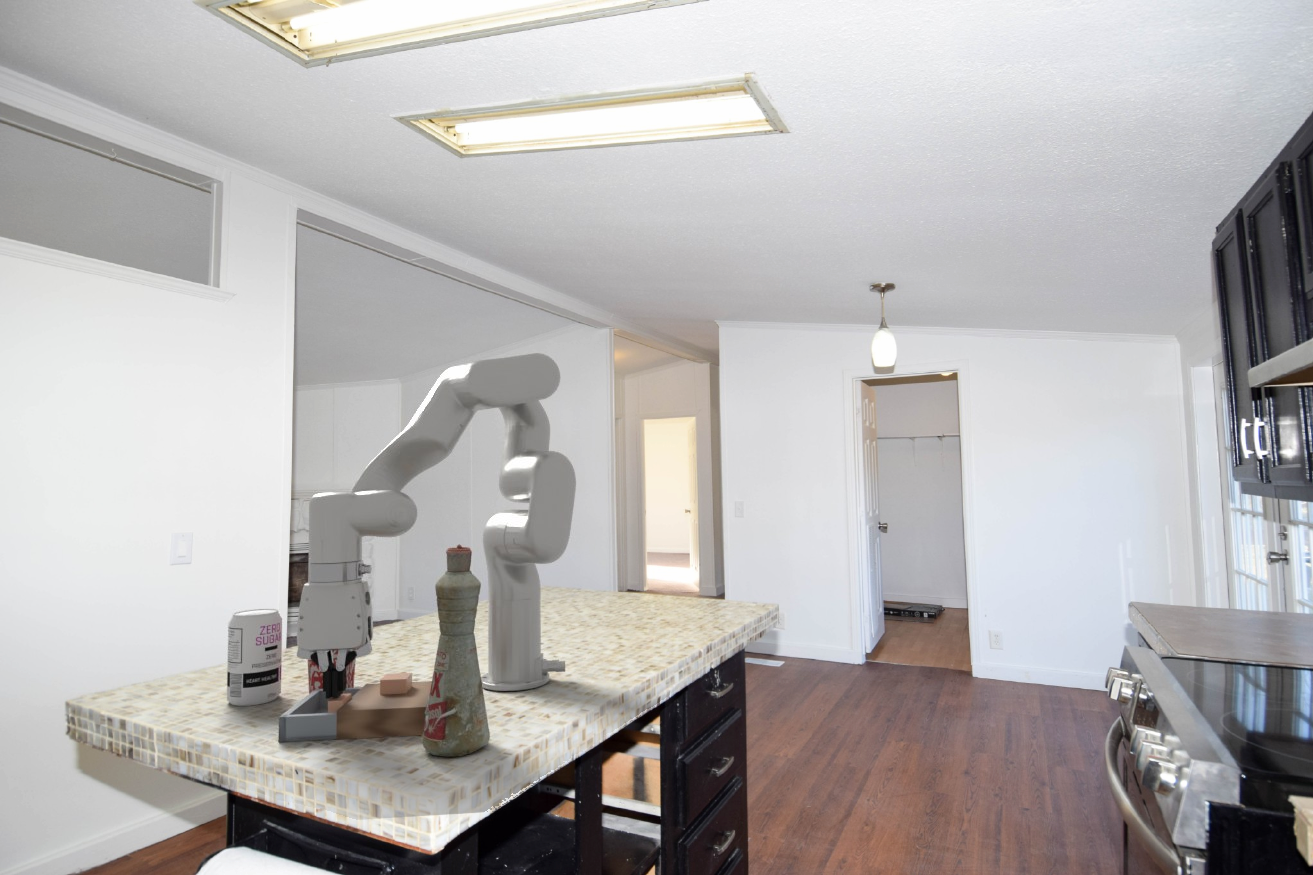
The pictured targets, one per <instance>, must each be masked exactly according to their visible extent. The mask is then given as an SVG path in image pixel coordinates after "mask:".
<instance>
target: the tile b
mask: <svg viewBox="0 0 1313 875" xmlns="http://www.w3.org/2000/svg"><path fill="white" fill-rule="evenodd" d="M412 682H413V672H400V673H399V672H398V673H386V674H384V676H382V678H381V679H380V680H379V683H380V695H381V694H404V693H407V692H408V691H409V690H410V689H411V687H412Z"/></svg>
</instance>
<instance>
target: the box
mask: <svg viewBox="0 0 1313 875" xmlns="http://www.w3.org/2000/svg"><path fill="white" fill-rule="evenodd" d="M362 687H363V686H360V687H359V686H357V687H355V686H354V688H346V690H345V691H343V694H349V693H351V697H353V696H354V695H355V694H356V693H357V692H358V691H359V690H360V689H361V688H362ZM331 698H332V697H331ZM331 698H330V699H331ZM330 699H326V692H323V689H315V690H314V691H313V692H311V693H310V694H309V693H308V694H307V695H306V696H304V697H303V698H302V699H300V700H299V701H298V702H297V703H295V704H294V705H293V706H291V707H290V708H289V709H288V710H286V711H285V712H283V713H282V714H281V715H280V716H279V717H278V736H277V738H278V743H288V742H292V743H293V742H307V741H310V742H311V741H331V740H337V739H336V731H337V713H328V701H329V700H330Z"/></svg>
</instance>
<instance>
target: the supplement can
mask: <svg viewBox="0 0 1313 875" xmlns="http://www.w3.org/2000/svg"><path fill="white" fill-rule="evenodd" d="M227 625H228V626H227V628H228V629H227V667H226V668H227V670H226V672H227V674H226V676H227V677H226V680H227V682H226V683H227V684H226V700H227V702H229V703H230V704H231V705H232V706H238V707H247V706H250V707H251V706H256V705H257V706H258V705H262V704H266V703H271V702H272V701H275V700H277V698H278V696H280V695H281V693H282V656H283V654H282V653H283V651H282V650H283V618H282V616H281V615H280V613H279V610H278V609H276V608H257V609H256V608H255V609H247V610H240V611H235V612H234V613H232V615H231V618H230V620H229V621H228V623H227Z"/></svg>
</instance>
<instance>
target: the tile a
mask: <svg viewBox="0 0 1313 875" xmlns="http://www.w3.org/2000/svg"><path fill="white" fill-rule="evenodd" d="M350 698H351V693H349V694H342V695H340V696H339V697H338V698H331V699H330V700H329V701H328V713H337V710H338V709H339V708H341V707H342V706H343V705H344V704H345V703H346V702H347V701H348V700H349V699H350Z"/></svg>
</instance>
